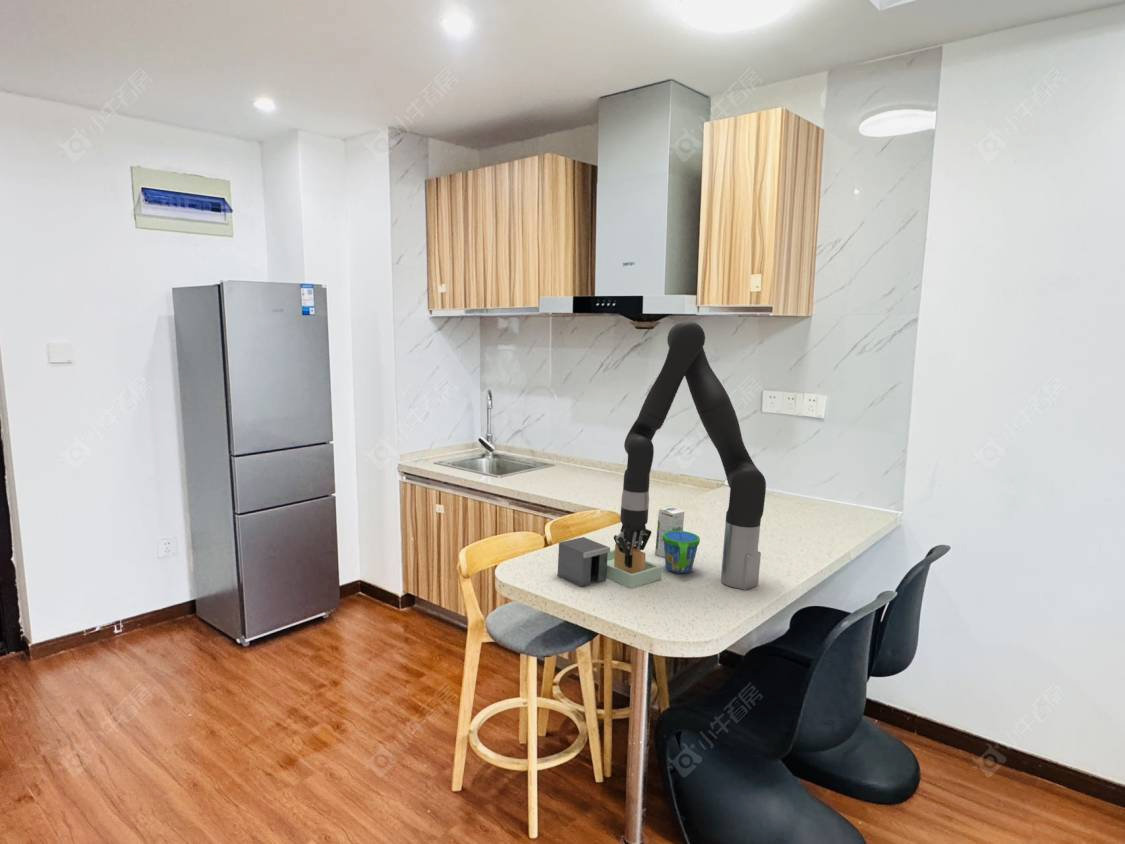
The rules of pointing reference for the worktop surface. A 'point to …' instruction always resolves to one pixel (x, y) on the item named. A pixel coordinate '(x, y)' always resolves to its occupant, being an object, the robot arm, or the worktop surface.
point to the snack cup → (680, 550)
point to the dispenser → (582, 561)
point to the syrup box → (668, 526)
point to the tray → (635, 579)
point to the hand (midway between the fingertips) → (630, 566)
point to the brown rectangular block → (637, 561)
